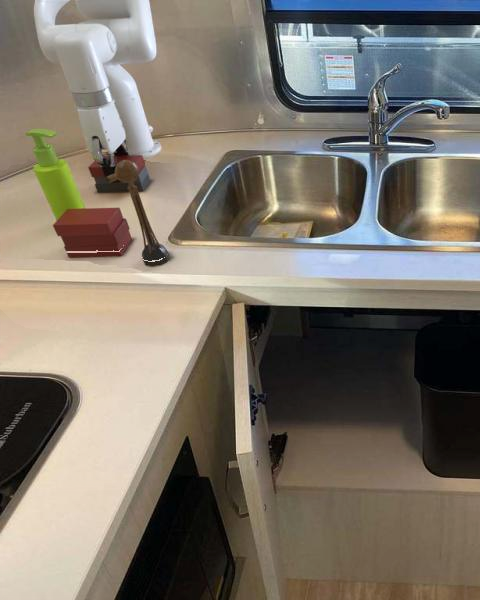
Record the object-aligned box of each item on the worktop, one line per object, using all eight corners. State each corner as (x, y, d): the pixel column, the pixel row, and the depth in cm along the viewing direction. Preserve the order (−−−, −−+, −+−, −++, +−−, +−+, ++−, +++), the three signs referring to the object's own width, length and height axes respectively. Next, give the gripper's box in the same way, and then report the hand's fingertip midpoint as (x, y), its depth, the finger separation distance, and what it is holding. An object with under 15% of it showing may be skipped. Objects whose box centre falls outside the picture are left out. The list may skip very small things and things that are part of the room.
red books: (67, 257, 106) (52, 225, 102) (81, 240, 111) (67, 208, 106) (122, 256, 106) (110, 223, 102) (133, 239, 111) (122, 207, 107)
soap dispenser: (82, 231, 114) (42, 137, 101) (53, 228, 115) (10, 135, 102) (100, 217, 118) (63, 126, 106) (71, 214, 119) (32, 124, 107)
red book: (91, 177, 125) (87, 167, 123) (102, 165, 129) (98, 155, 128) (136, 176, 125) (133, 166, 123) (145, 164, 130) (142, 154, 128)
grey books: (97, 192, 127) (91, 176, 125) (106, 181, 132) (100, 166, 129) (143, 191, 128) (138, 175, 125) (151, 180, 132) (146, 165, 129)
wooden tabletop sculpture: (147, 272, 102) (111, 171, 90) (133, 263, 104) (96, 164, 92) (175, 257, 106) (143, 159, 93) (160, 249, 108) (128, 152, 95)
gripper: (91, 84, 123) (118, 160, 135) (56, 111, 110) (89, 192, 121) (125, 83, 124) (149, 159, 135) (94, 110, 110) (123, 192, 121)
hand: (120, 174), depth 128 cm, fingers open, 6 cm apart
